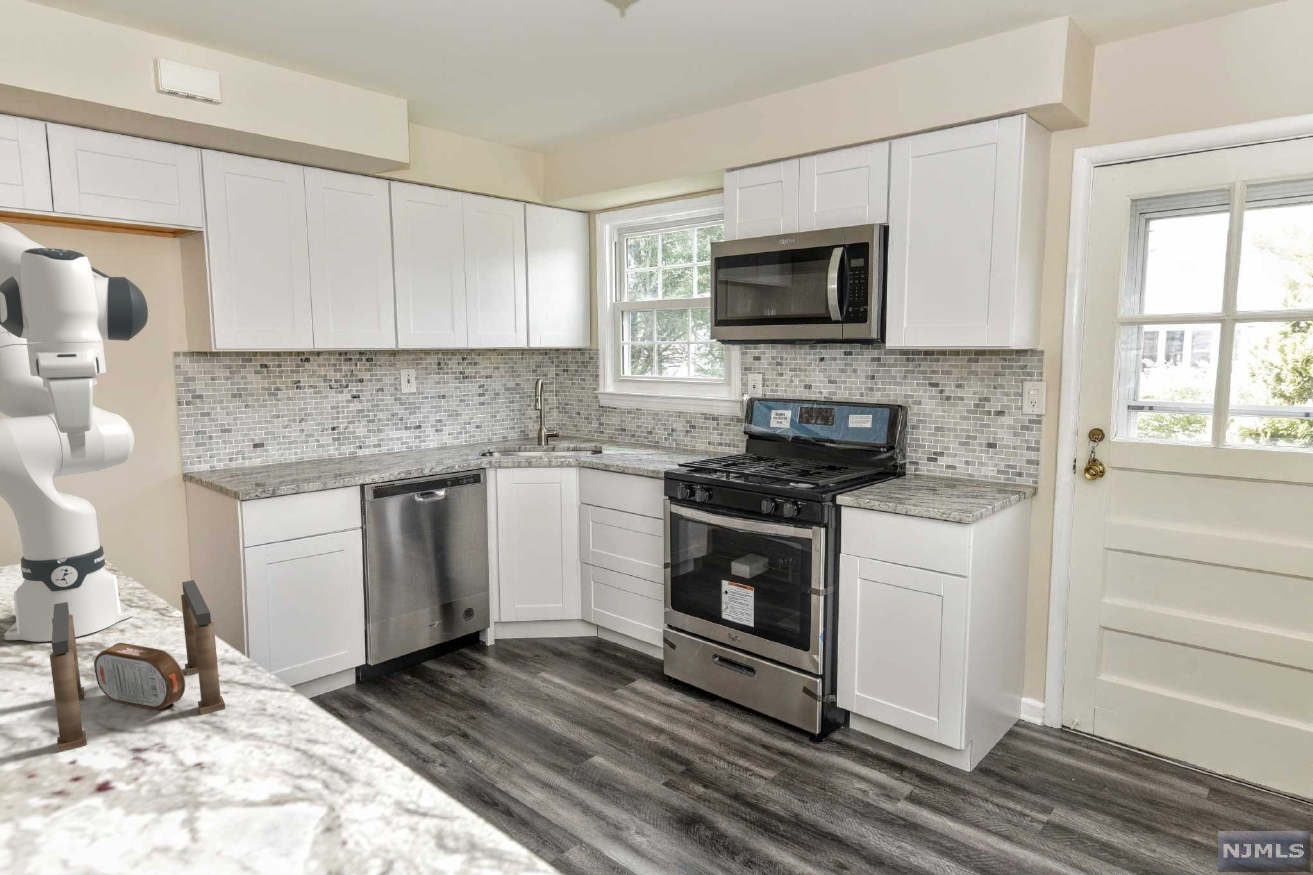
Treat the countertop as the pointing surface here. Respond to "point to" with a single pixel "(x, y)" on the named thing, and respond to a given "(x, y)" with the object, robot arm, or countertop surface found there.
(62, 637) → the grey bar
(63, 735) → the wooden stanchion pair
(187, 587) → the dark grey beam
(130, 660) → the tin
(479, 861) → the countertop surface
